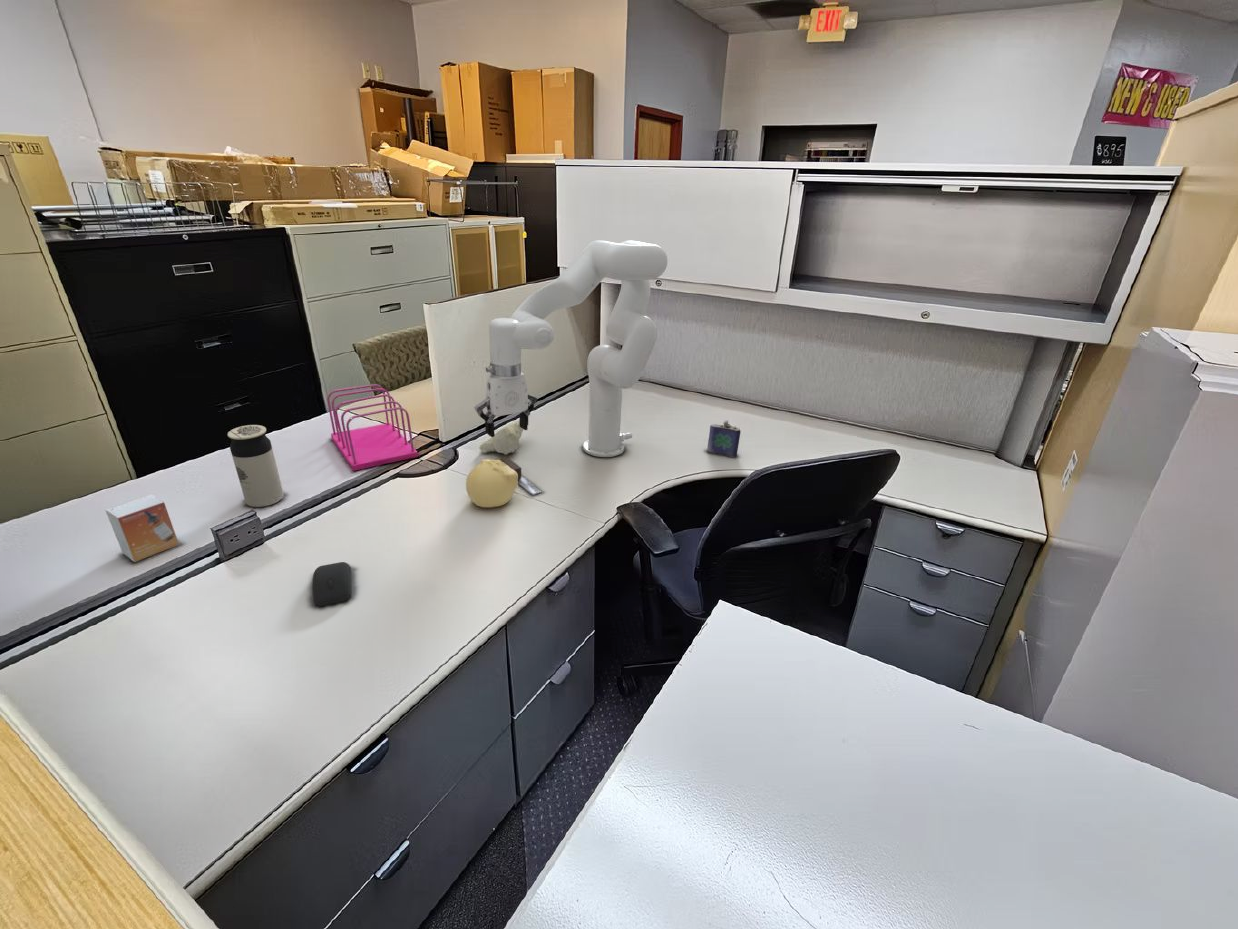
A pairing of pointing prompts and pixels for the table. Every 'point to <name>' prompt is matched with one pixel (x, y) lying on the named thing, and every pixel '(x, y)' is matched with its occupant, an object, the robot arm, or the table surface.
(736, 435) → the flask
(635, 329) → the robot arm
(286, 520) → the table surface
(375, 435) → the file sorter
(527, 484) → the knife
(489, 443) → the white jagged rock
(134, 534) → the small box
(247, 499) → the travel mug
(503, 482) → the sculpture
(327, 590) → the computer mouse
